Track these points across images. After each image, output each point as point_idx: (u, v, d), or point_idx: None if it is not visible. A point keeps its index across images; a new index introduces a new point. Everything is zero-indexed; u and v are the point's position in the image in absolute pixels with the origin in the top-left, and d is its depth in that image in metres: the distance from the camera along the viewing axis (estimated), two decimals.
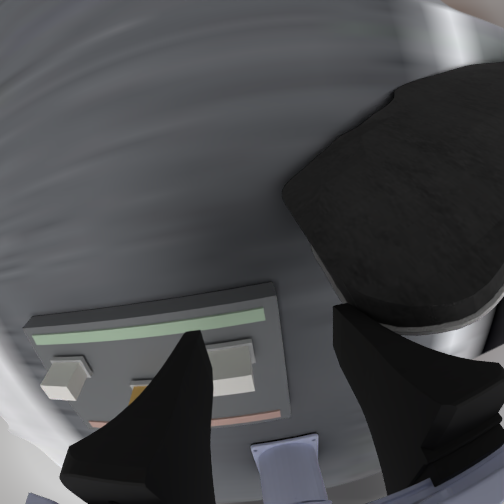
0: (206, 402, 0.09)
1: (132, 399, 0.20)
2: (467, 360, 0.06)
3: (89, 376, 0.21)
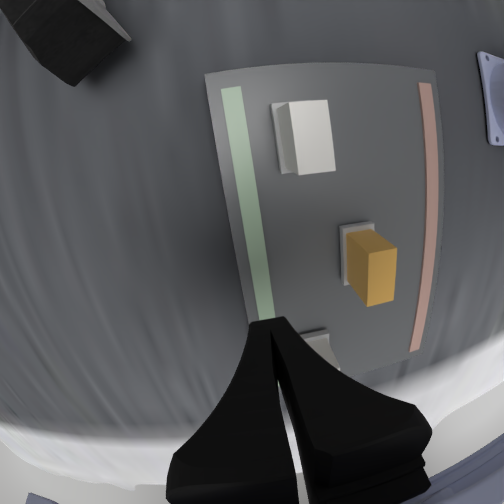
0: (278, 392, 0.10)
1: (356, 289, 0.16)
2: (383, 395, 0.06)
3: (327, 335, 0.19)
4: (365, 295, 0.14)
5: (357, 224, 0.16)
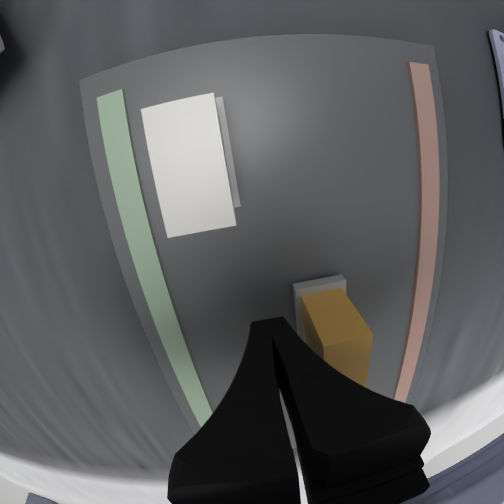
0: None
1: None
2: (382, 395, 0.06)
3: None
4: None
5: (320, 281, 0.11)
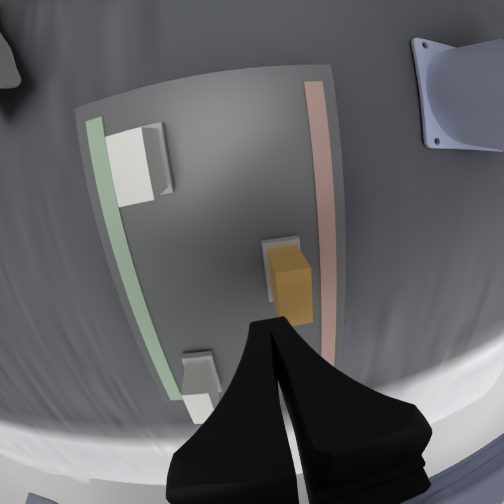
0: None
1: (275, 307, 0.16)
2: (383, 395, 0.06)
3: (210, 357, 0.18)
4: (279, 316, 0.14)
5: (280, 239, 0.16)
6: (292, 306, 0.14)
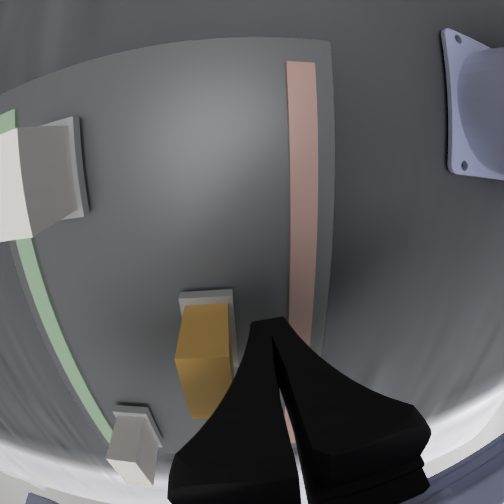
0: (279, 392, 0.10)
1: None
2: (382, 395, 0.06)
3: (145, 415, 0.13)
4: None
5: (206, 293, 0.11)
6: (204, 398, 0.09)
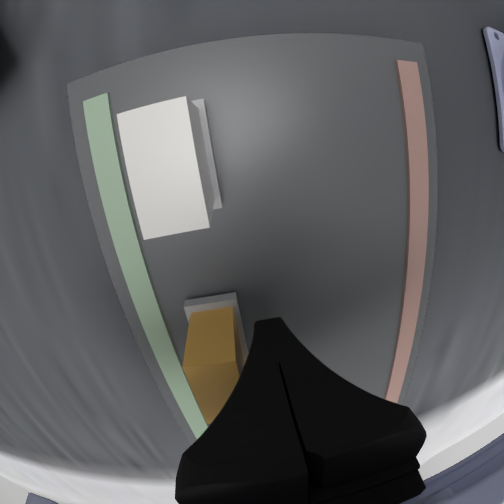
0: None
1: None
2: (377, 396, 0.06)
3: None
4: None
5: (210, 299, 0.11)
6: (217, 403, 0.09)
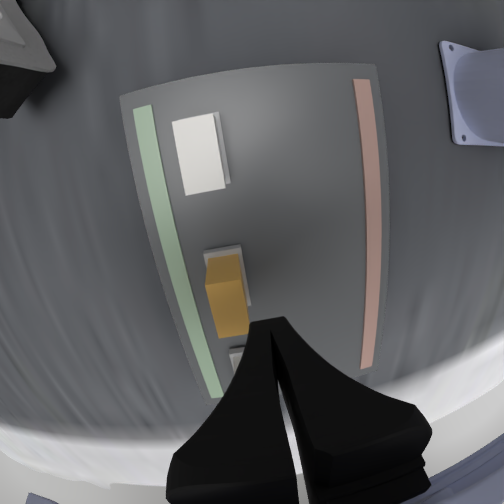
0: None
1: None
2: (383, 395, 0.06)
3: None
4: (216, 326, 0.14)
5: (222, 248, 0.16)
6: (227, 317, 0.14)
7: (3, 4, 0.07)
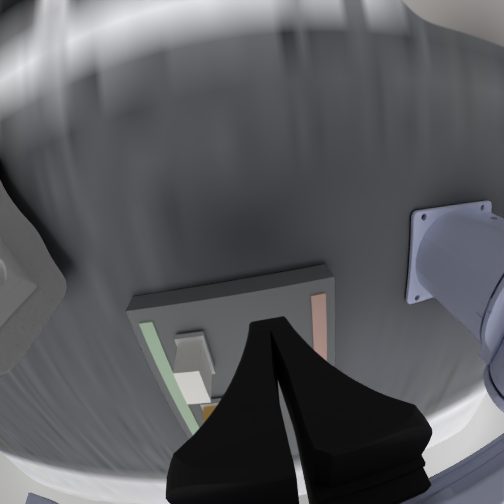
0: None
1: None
2: None
3: None
4: None
5: (212, 401, 0.22)
6: None
7: None
